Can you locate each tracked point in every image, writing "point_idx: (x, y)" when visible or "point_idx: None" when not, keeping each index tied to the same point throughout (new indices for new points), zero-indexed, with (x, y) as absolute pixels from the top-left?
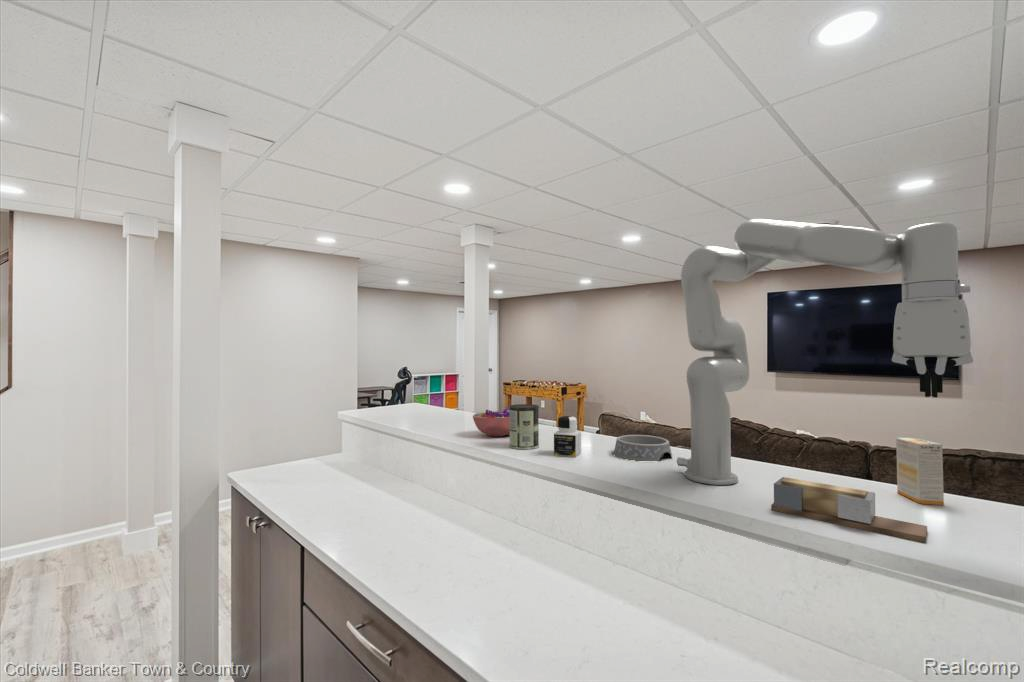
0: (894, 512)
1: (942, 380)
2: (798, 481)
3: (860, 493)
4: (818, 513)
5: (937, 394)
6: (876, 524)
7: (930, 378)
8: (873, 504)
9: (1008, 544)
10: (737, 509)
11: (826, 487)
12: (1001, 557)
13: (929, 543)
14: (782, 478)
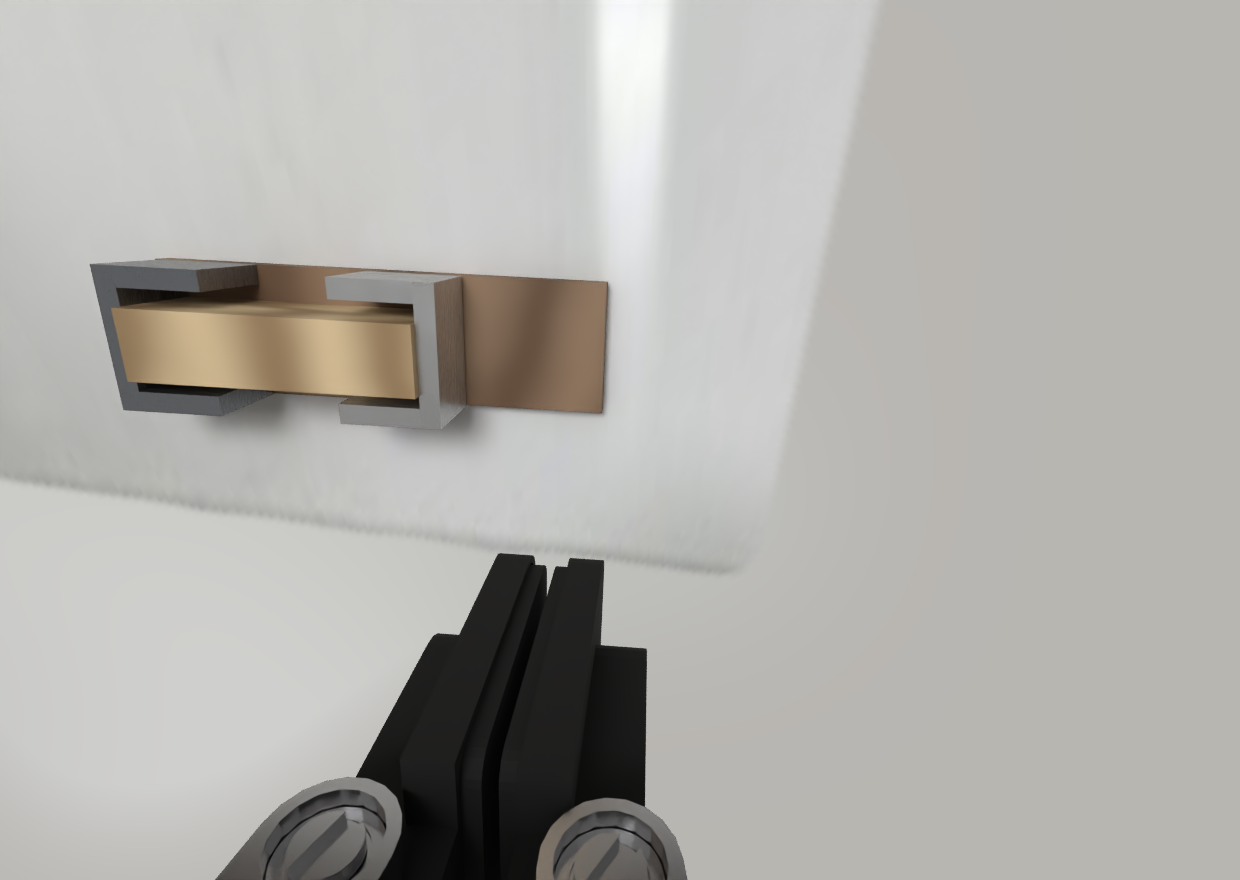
0: (507, 87)
1: (644, 761)
2: (176, 348)
3: (398, 382)
4: None
5: (602, 571)
6: (479, 380)
7: (498, 781)
8: (447, 334)
9: (808, 248)
10: (124, 451)
11: (284, 374)
12: (764, 398)
13: (611, 402)
14: (101, 292)
